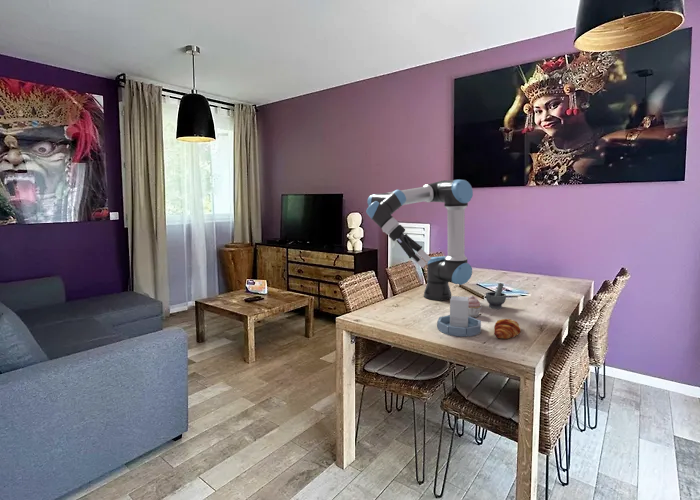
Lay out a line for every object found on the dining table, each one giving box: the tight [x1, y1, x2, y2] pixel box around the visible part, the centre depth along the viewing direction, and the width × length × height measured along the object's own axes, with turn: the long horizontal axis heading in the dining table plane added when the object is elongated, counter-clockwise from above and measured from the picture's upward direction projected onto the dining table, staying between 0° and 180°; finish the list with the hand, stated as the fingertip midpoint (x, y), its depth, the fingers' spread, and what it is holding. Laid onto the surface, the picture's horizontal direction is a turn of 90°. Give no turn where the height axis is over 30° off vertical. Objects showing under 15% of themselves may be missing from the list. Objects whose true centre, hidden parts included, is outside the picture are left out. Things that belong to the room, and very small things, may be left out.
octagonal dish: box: [436, 314, 482, 338], centre depth 170 cm, size 18×18×4 cm
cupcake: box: [468, 295, 483, 318], centre depth 189 cm, size 9×9×10 cm
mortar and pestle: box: [485, 282, 507, 310], centre depth 203 cm, size 11×9×12 cm
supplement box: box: [449, 295, 470, 328], centre depth 170 cm, size 7×7×13 cm
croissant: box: [493, 318, 521, 340], centre depth 164 cm, size 21×10×8 cm, turn 140°
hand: (427, 263), depth 178 cm, fingers open, 13 cm apart
